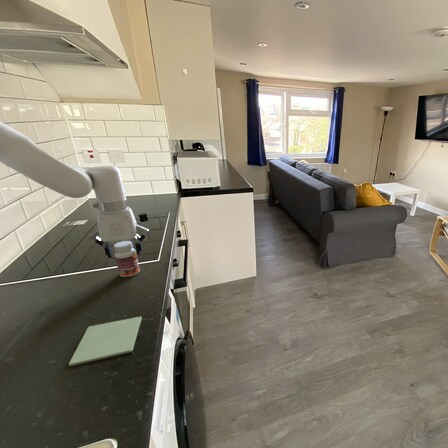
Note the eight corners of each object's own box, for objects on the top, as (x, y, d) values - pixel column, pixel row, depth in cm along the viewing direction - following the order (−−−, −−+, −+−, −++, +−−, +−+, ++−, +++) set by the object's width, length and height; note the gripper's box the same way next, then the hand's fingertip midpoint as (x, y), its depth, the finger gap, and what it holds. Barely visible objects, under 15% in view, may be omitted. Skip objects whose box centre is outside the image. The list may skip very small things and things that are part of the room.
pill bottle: (141, 274, 91) (134, 245, 87) (120, 279, 88) (112, 249, 84) (139, 266, 96) (132, 238, 92) (119, 271, 93) (111, 242, 89)
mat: (69, 366, 57) (68, 364, 56) (88, 328, 67) (88, 326, 67) (132, 351, 61) (131, 349, 60) (141, 318, 71) (141, 316, 71)
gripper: (75, 211, 77) (91, 263, 83) (142, 206, 83) (152, 255, 89) (84, 204, 84) (99, 253, 90) (146, 200, 89) (155, 246, 96)
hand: (125, 254), depth 89 cm, fingers open, 7 cm apart
